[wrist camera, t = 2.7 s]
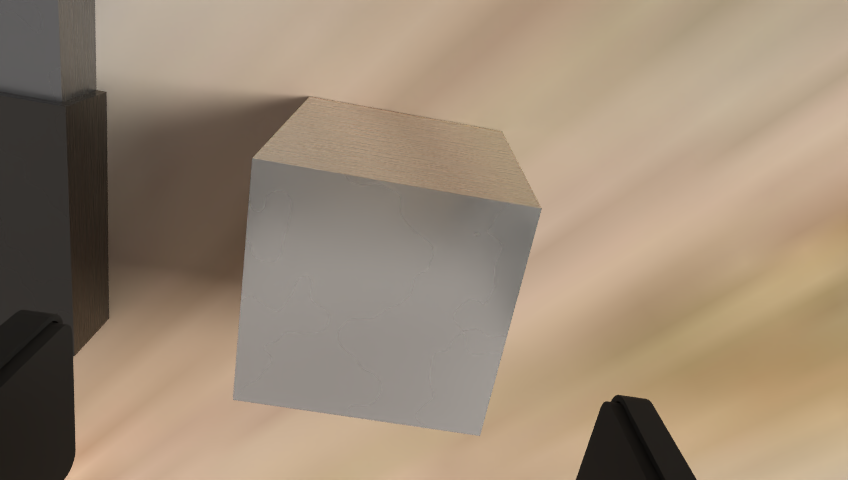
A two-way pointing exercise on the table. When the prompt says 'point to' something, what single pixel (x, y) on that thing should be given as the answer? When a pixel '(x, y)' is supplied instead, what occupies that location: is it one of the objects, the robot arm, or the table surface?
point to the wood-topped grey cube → (381, 266)
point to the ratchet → (53, 165)
